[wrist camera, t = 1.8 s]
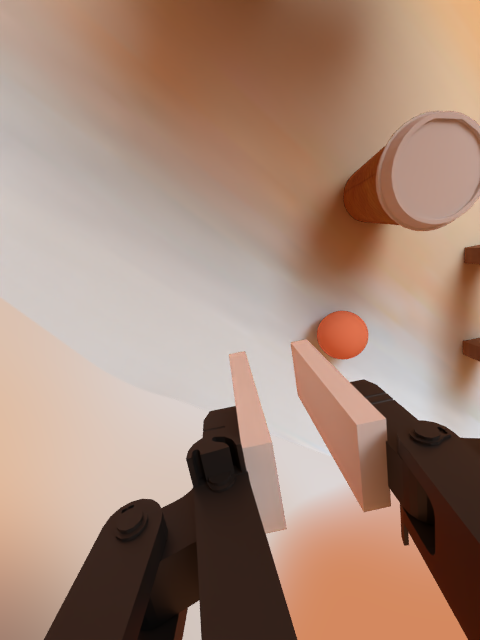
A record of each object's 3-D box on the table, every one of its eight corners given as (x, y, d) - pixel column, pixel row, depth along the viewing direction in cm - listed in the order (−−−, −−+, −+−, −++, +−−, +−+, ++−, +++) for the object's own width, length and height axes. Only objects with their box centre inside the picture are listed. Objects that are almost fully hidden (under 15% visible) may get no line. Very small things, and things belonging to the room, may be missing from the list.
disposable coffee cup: (420, 180, 36) (518, 147, 24) (376, 249, 38) (448, 250, 26) (359, 134, 34) (433, 76, 23) (315, 209, 36) (363, 191, 24)
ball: (308, 311, 39) (324, 322, 33) (352, 302, 39) (376, 312, 33) (313, 353, 40) (329, 371, 35) (355, 345, 41) (379, 361, 35)
